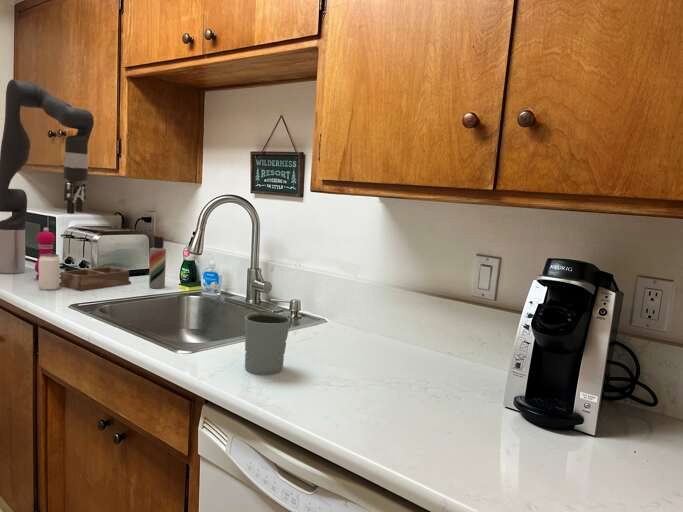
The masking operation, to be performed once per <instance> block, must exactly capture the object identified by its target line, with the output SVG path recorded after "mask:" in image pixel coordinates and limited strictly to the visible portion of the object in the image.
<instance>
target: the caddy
mask: <svg viewBox="0 0 683 512" xmlns="http://www.w3.org/2000/svg"><path fill="white" fill-rule="evenodd" d="M131 284H132V281H131V280H130V270H128V269H122V268H118V267H111V266H104V267H96V268H95V267H93V268H85V269H75V270H67V271H66V270H64V271H60V287H62V288H66V289H70V290H73V291H74V290H75V291H78V292H85V291H91V290H92V291H93V290H99V289H106V288H114V287H115V288H116V287H121V286H127V285H129V286H130V285H131Z"/></svg>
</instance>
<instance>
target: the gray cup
mask: <svg viewBox="0 0 683 512" xmlns="http://www.w3.org/2000/svg"><path fill="white" fill-rule="evenodd" d="M290 323H291V318H290V317H288V316H285V315H283V314H279V313H271V312H256V313H255V312H253V313H249V314H246V315H245V316H244V336H245V341H244V346H245V347H244V348H245V349H244V351H245V355H244V369H245V371H246V372H248V373H249V374H253V375H259V376H272V375H276V374H279V373H280V372H282V370H283V368H284V367H283V366H284V358H285V353H286V346H287V342H286V341H287V340H288V339H287V338H288V334H289V328H290Z"/></svg>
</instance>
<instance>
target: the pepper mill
mask: <svg viewBox="0 0 683 512" xmlns="http://www.w3.org/2000/svg"><path fill="white" fill-rule="evenodd" d="M42 230H43V231H41V232H39V233H38V234H37V235H36V241H37V242H38V247H37V248H38V249H39V253H38V258H37V260H36V262H35V265H34V271H35V272H36V273H37V274H36V277H35V279H36V280H37V281H39V258H40V255H41V254H53V249H54V244H53V243H54V242H55V240H56V238H55V235H54V233H52V232H51V231H50V230H49V228H48V227H44V228H43V229H42Z"/></svg>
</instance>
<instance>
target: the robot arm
mask: <svg viewBox="0 0 683 512" xmlns="http://www.w3.org/2000/svg"><path fill="white" fill-rule="evenodd" d="M5 89H6V91H5V110H4V111H5V112H4V125H3V133H2V138H1V145H0V213H1V212H2V213H12V215H11V216H9V217H8V218H5V219H2V220H0V274H21V273H25V272H26V224H27V214H28V213H27V212H28V211H27V209H28V196H27V193H26V192H25V190H23V189H22V188H21V189H20V188H9V187H10V185H11V181H12V179H13V178H14V177H15V176H16V175H17V174H18V172H19V171H20V170H21V169H22V168H23V167H24V166H25V165H26V163H28V160H29V157H30V150H31V140H30V138H29V135H28V133H27V131H26V129H25V128H24V125H23V123H22V119H21V108H22V107H24V108H32V109H33V108H34V109H35V108H37V109H41V110H43V112H44V113H45V114H46V115H47V116H49V117H51V118H53V119H55V120H56V121H57V122H59V124H60V125H62V126H63V127H65V128H67V129H68V128H69V129H75V130H77V131H76V133H75V134H74V135H67V136H66V137H65V141H64V159H63V179H64V180H66V181H67V180H68V181H69V182H65V183H64V189H63V190H64V193H63V195H64V196H63V199H64V202H66V213H67V214H71V215H72V214H75V213H76V212H77V213H83V211H84V202H85V200H86V199H87V196H86V195H87V184H86V183H84V182H87V181H88V179H89V158H88V156H89V155H88V149H89V147H88V146H89V141H90V137H91V135H92V134H91V133H92V131H93V128H94V124H95V120H94V116H93V113H92V112H91V111H90V110H87V109H85V108H84V109H83V108H78V107H73V106H72V105H71V104H70V103H68V102H66V101H64V100H62V99H60V98H57V97H56V96H54V95H53V94H50V93H49V92H48V91H47V90H45V89H44V88H43V87H42V86H40V85H39V84H37V83H36V82H35V83H34V82H31V81H28V80H27V81H26V80H20V79H15V78H12V79H9V81H8V83H7V86H6V88H5Z"/></svg>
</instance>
